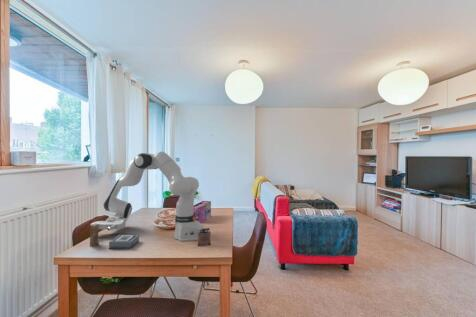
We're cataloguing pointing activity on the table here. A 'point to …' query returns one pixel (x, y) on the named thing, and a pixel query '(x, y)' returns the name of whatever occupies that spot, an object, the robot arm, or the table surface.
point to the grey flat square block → (124, 242)
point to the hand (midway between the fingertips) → (101, 229)
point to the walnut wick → (93, 234)
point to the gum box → (202, 211)
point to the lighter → (204, 237)
